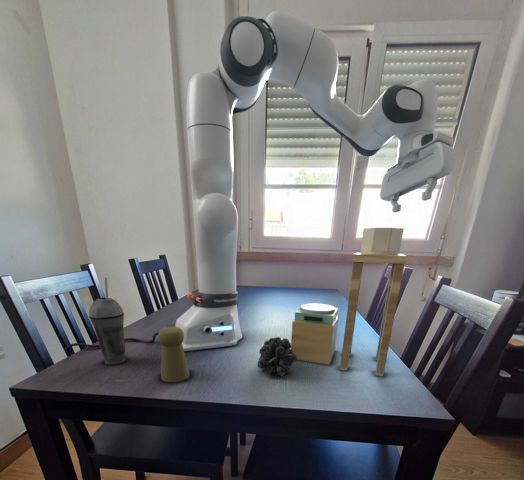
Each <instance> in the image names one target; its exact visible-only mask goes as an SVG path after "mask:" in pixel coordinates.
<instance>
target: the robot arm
mask: <svg viewBox="0 0 524 480" xmlns="http://www.w3.org/2000/svg"><path fill="white" fill-rule="evenodd" d="M219 50H220V51H219V52H220V53H219V60H218V64H217V67H216V69H214V70H212V71H199V72H197V73H195V74H194V75H192V77H191V78H190V79H189V81H188V83H187V84H188V85H187V90H186V91H187V92H186V106H185V107H186V108H185V109H186V110H185V111H186V114H185V115H186V117H185V118H186V135H187V148H188V160H189V175H190V185H191V199H192V213H193V224H194V225H193V226H194V240H195V257H196V271H197V272H196V275H197V287H198V288H197V289H198V291H197V292H196V293H192V292H188V293H187V295H186V298H187V299H188V300H190V301H192V306H190V307H189V308H188V309H186V311H185V312H183V314H181V315H180V316H179V317H178V318H177V319H176V321H175V323H170V324H166V327H165V328H167V327H178V328H180V329H181V330H182V331H183V333H184V340H183V342H182V345H183V349H184V352H189V351H197V350H198V351H199V350H207V349H208V350H209V349H216V348H223V347H232V346H236V345H237V343H238V341H240V340H241V339H242V338H243V332H242V330H241V326H240V322H239V321H240V320H239V313H238V312H239V311H238V309H239V292H238V291H237V253H238V240H239V239H238V235H239V214H238V209H237V207H236V205H235V204H234V202H233V194H234V193H233V192H234V191H233V189H234V170H235V169H234V168H235V167H234V138H233V137H234V134H233V115H236V114H239V113H244V112H247V111H250V110H251V109H252V108H253V107H254V106H255V105H256V103H257V102H258V100H259V97H260V95H261V91H262V90H263V88H264V86H265V83H266V81H270V80H274V81H279V82H282V83H283V84H285V85H286V86H288V87H289V88H291V89H292V90H294V91H296V92H297V93H298V94H300V95H301V96H302V97H303V98H304V100H305V101H306V102H307V103H308V107H309V109H310V110H311V112H312V113H313V114H314V115H315V116H316V117H317V118H318V119H319V120H321V121H322V122H323V123H324V124H326V125H327V126H328V127H330V128H331V130H333V131H335V132H336V133H337V134H339V135H340V136H341V137H342V138H344V139H345V140H346V141H347V142H348V143H349V144H350V145H351V147H352V148H353V150H355V151H356V152H357V153H358V154H359V155H361V156H363V157H372V156H375V155H377V154H378V153H379V152H380V151H381V150H382V149H383V147H385V145H386V144H387V143H388V142H390V140H391V139H393V138H394V137H396V138H398V144H397V155H396V156H397V157H396V163H394V165H392V166H389V167H388V168H387V170H386V171H385V173H384V174H383V176H382V180H381V184H380V185H381V186H380V191H379V198H380V199H381V200H382V201H386V202H389V203H390V204H391V206H392V213H398V212H401V210H402V204H400V203H399V202H398V201H399V200H400V197H402V196H404V195H406V194H409V193H411V192H413V191H415V190H418V189H420V188H422V187H425V186H426V188H425V190H424V191H423V192H422V193H421V196H422V197H421V200H422V201H423V202H426V201H429V200H431V199H432V196H433V195H432V194H433V192H434V190H435V188H436V187H437V185H438V180H440V179H442V178H444V177H446V176H448V175H450V174H451V172H452V171H453V170H454V165H455V150H454V147H453V146H454V138H453V137H452V136H450V135H449V134H447V133H445V132H443V131H438V130H435V125H436V123H437V119H438V104H439V103H438V102H439V99H438V91H437V87H436V84H435V83H434V82H433V81H432V80H430V79H425V78H424V79H423V78H422V79H418V80H415V81H413V82H412V83H411V84H409V85H404V84H393V85H391V86H389V87H388V88H387V89H386V90H385V91H384V92H383V93H382V94H381V95H380V96H379V97H378V98H377V100H376V101H374V103H373V105H372V106H371V107H370V108H369V109H368V111H367V112H366V113H364V114H358V113H356V112H355V111H354V110H353V109H352V108H350V107H349V106H348V105H347V104H346V103H344V102H343V101H342V100H341V99H340V98H339V97H338V95H337V90H336V82H337V77H338V72H339V71H338V70H339V55H338V50H337V47H336V45H335V42H334V41H333V40H332V39H331V38H330V37H329V36H328V35H327V34H326V33H325V32H323V31H322V30H320V29H319V28H317V27H315V26H314V25H313V24H311V23H310V22H308V21H306V20H304V19H303V18H300V17H298V16H297V15H296V16H295V15H293V14H291V13H288V12H285V11H282V10H279V9H278V10H277V9H276V10H273V11H271V12H270V13H269V14H268V15H267V16H266V18H265V19H264V18H256V17H253V16H248V15H242V16H241V15H240V16H238V17H235V18H234V19H233V20H231V21H230V22H229V23H228V24H227V26H226V28H225V30H224V32H223V35H222V38H221V42H220V49H219ZM158 333H159V331H157V332H155V333H154V334H153V335H152V339H149V340H143V339H139V338H135V337H126V338H125V337H124V342H126V341H127V342H128V341H134V342H140V343H149V344H151V343H154V342H155V341H156V337H158ZM77 346H80V347H86V348H100V345H99V344H89V343H83V342H74V343H70V344H68V345H66V347H64V350H65V351H66V350H67V351H68V350H69V349H72V348H73V347H77Z"/></svg>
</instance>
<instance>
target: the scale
mask: <svg viewBox="0 0 524 480" xmlns="http://www.w3.org/2000/svg"><path fill="white" fill-rule="evenodd" d="M338 310H339V307H335V306H333V305H331V304H326V303H315V302H314V303H311V302H310V303H303V304H301V305H300V306H299V308H298V309H297V310H296V311H294V319H293V320H292V323H291V341H290V344H291V348H290V349H291V350H292V352H293V355H296V357H297V360H296V361H303V362H308V363H309V362H311V363H317V364H322V365H329V366H330V364H331V362H332V359H333V357H334V354H335V352H336V343H337V342H336V341H337V336H338V326H339V317H340V316H339V315H338V312H339V311H338Z"/></svg>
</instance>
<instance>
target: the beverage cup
mask: <svg viewBox="0 0 524 480" xmlns="http://www.w3.org/2000/svg"><path fill="white" fill-rule="evenodd" d="M108 287H109V286H108V277H104V293H105V295H104V296H105V297H99V298H96V299H95V300H94V301H92V303H91V305H90V306H89V309H88V318H89V319H90V323H91V325H92V326H93V329H94V332H95V335H96V339H97V341H98V345H100V347H99V348H100V352H101V355H102V357H103V360H104V363H105V364H106V365H118V364H121V363H124V362H125V361H126V346H125V345H126V344H125V342H126V341H124V339H125V330H124V329H125V327H124V323H125V322H124V321H125V316H124V315H125V312H124V310H123V307H122V305H121V304H120V303H119V302H118V301H117V300H116V299H113V298H111V297H109V288H108Z"/></svg>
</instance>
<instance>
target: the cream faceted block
mask: <svg viewBox="0 0 524 480" xmlns="http://www.w3.org/2000/svg"><path fill="white" fill-rule="evenodd" d="M403 234H404V227H403V228H402V227H365V228H363V231H362V238H361V244H360V245H361V246H360V253H361V254H384V255H398V254H400V252H401V246H402V240H403V236H404V235H403Z"/></svg>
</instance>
